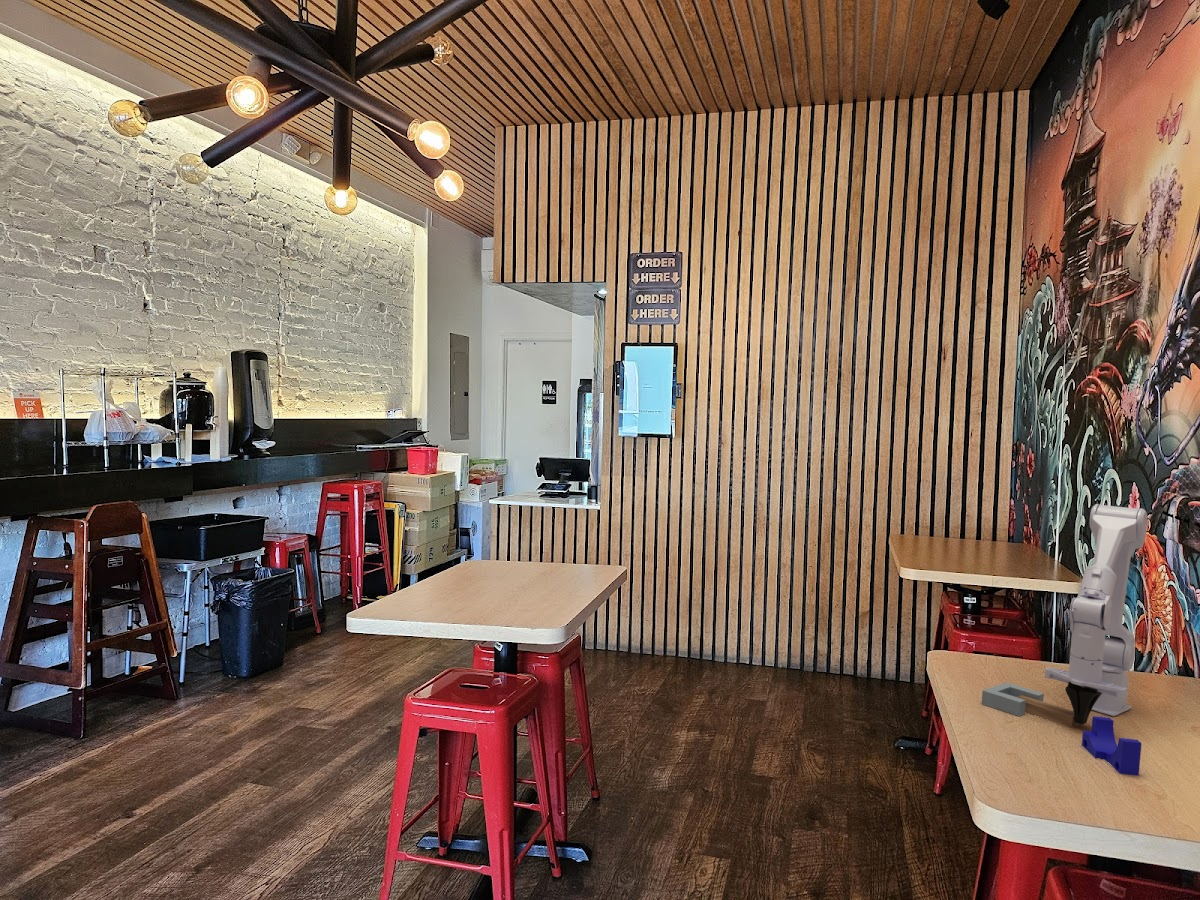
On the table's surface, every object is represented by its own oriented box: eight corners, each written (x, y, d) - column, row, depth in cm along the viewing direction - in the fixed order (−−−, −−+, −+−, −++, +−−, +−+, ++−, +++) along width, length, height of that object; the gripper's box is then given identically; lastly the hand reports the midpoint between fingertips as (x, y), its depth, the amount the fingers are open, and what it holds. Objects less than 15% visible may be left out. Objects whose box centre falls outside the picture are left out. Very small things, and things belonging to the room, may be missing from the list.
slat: (1020, 706, 176) (1021, 695, 175) (1080, 725, 166) (1081, 713, 166) (1011, 709, 173) (1012, 698, 173) (1071, 729, 164) (1072, 717, 164)
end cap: (1005, 695, 181) (1006, 682, 181) (1042, 707, 175) (1043, 693, 175) (981, 704, 175) (982, 690, 175) (1019, 716, 168) (1020, 702, 168)
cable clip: (1081, 746, 155) (1084, 715, 154) (1107, 748, 154) (1109, 717, 154) (1110, 773, 143) (1113, 740, 143) (1138, 776, 142) (1141, 743, 142)
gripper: (1040, 649, 166) (1034, 714, 167) (1118, 670, 155) (1112, 739, 156) (1055, 645, 171) (1050, 708, 171) (1133, 664, 159) (1127, 732, 160)
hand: (1081, 722), depth 164 cm, fingers closed
